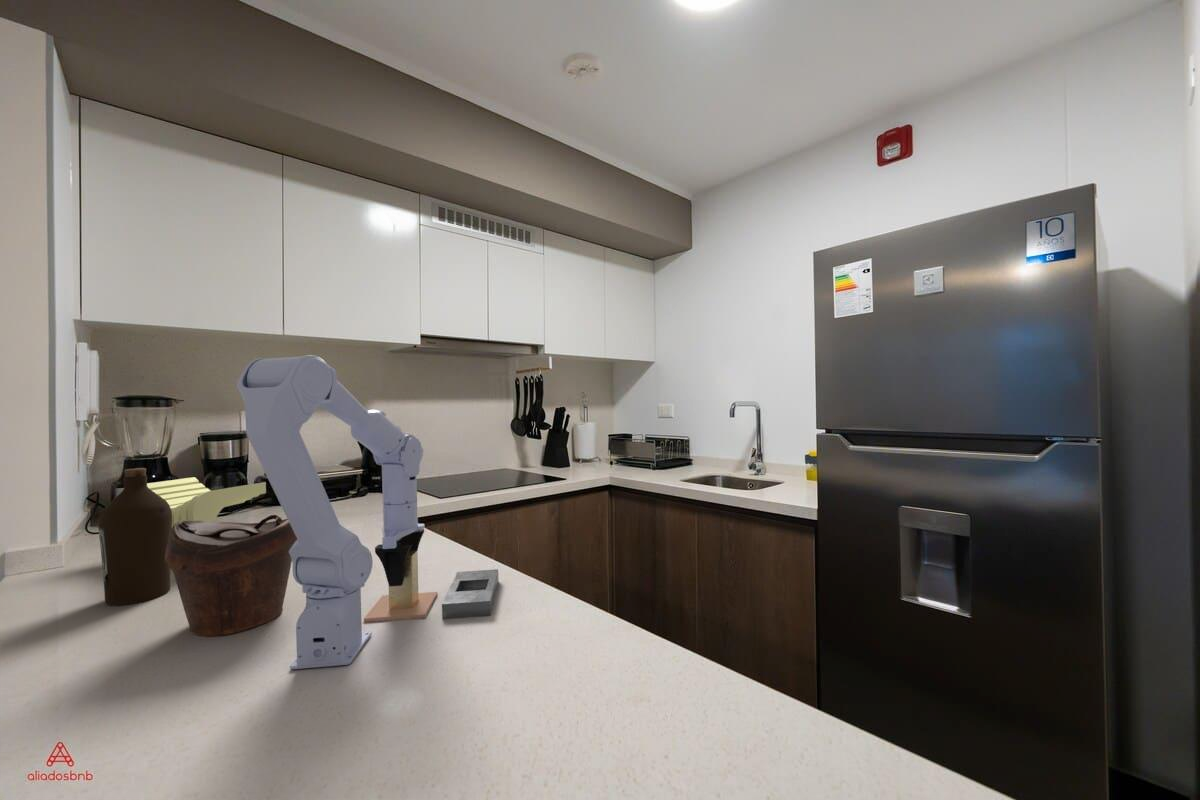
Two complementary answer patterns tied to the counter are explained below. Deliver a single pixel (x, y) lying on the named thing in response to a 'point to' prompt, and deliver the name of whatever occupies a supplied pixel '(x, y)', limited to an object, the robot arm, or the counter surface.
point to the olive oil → (135, 542)
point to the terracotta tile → (418, 611)
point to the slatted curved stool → (201, 498)
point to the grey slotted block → (471, 594)
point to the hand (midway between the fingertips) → (402, 577)
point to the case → (230, 572)
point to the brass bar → (406, 585)
